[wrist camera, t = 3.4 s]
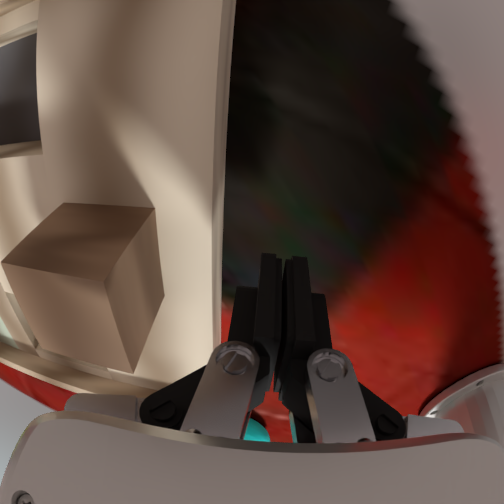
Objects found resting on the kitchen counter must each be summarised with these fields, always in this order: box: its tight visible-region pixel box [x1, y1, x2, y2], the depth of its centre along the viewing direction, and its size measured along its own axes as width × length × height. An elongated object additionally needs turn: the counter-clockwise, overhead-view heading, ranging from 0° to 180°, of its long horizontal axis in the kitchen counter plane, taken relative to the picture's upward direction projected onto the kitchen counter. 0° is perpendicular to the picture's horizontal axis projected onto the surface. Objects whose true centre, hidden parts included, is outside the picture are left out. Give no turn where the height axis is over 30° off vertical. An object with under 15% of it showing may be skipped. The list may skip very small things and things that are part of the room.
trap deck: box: [0, 0, 236, 398], centre depth 14 cm, size 24×25×4 cm
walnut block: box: [0, 203, 165, 374], centre depth 11 cm, size 4×4×4 cm
